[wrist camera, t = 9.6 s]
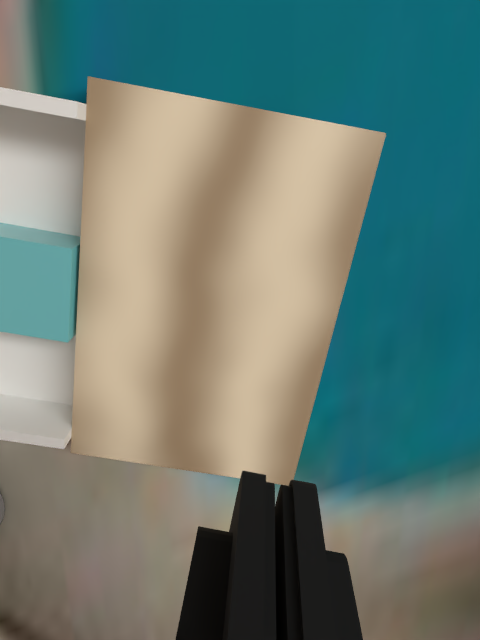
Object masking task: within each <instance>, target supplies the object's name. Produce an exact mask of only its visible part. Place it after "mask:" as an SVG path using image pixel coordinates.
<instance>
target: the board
mask: <svg viewBox="0 0 480 640" xmlns="http://www.w3.org/2000/svg"><path fill="white" fill-rule="evenodd" d="M385 136H386V133H382V132H377V131H372V130H367V129H361V128H356V127H351V126H346V125H340V124H335V123H330V122H325V121H319V120H314V119H309V118H304V117H298V116H293V115H288V114H283V113H277V112H272V111H267V110H262V109H256V108H251V107H246V106H241V105H235V104H230V103H225V102H220V101H214V100H209V99H204V98H199V97H193V96H188V95H183V94H178V93H172V92H167V91H162V90H157V89H151V88H146V87H141V86H136V85H130V84H125V83H120V82H115V81H109V80H104V79H99V78H94V77H88V83H87V105H86V127H85V149H84V171H83V193H82V215H81V237H80V258H79V280H78V302H77V324H76V346H75V368H74V390H73V412H72V434H71V453H75V454H81V455H88V456H95V457H101V458H108V459H115V460H121V461H128V462H135V463H141V464H148V465H155V466H161V467H168V468H175V469H181V470H188V471H195V472H201V473H208V474H215V475H221V476H228V477H235V478H241V473H242V471H248V472H254V473H259V474H264V475H266V482H271V483H275V484H281V485H288V486H289V483H290V481H291V480H293V479H294V475H295V472H296V468H297V464H298V460H299V457H300V453H301V449H302V445H303V442H304V438H305V434H306V431H307V427H308V423H309V419H310V416H311V412H312V408H313V404H314V401H315V397H316V393H317V389H318V386H319V382H320V378H321V375H322V371H323V367H324V363H325V360H326V356H327V352H328V348H329V345H330V341H331V337H332V333H333V330H334V326H335V322H336V319H337V315H338V311H339V307H340V304H341V300H342V296H343V292H344V289H345V285H346V281H347V278H348V274H349V270H350V266H351V263H352V259H353V255H354V251H355V248H356V244H357V240H358V236H359V233H360V229H361V225H362V222H363V218H364V214H365V210H366V207H367V203H368V199H369V195H370V192H371V188H372V184H373V180H374V177H375V173H376V169H377V166H378V162H379V158H380V154H381V151H382V147H383V143H384V139H385Z"/></svg>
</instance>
